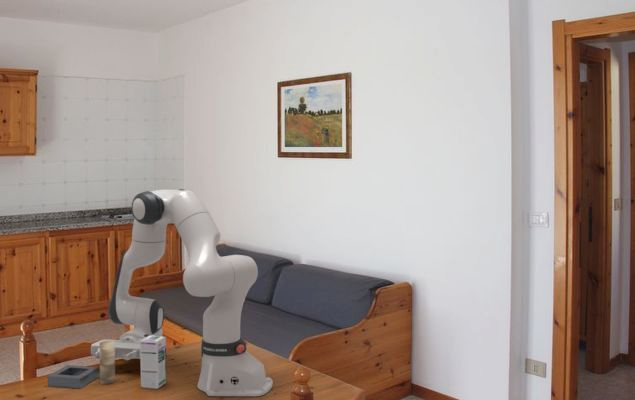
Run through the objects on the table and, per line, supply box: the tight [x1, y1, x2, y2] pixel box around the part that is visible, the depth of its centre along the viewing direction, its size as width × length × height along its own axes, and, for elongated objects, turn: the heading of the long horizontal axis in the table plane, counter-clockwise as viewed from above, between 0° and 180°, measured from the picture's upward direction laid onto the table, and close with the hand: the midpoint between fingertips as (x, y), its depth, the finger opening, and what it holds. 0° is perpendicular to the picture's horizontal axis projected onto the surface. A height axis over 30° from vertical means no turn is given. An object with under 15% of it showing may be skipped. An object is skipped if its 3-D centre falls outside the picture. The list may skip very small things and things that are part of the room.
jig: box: [47, 364, 100, 390], centre depth 191 cm, size 11×11×3 cm
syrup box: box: [139, 335, 168, 390], centre depth 189 cm, size 6×6×14 cm
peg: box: [99, 341, 116, 385], centre depth 191 cm, size 4×4×12 cm
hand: (111, 356), depth 194 cm, fingers open, 8 cm apart
